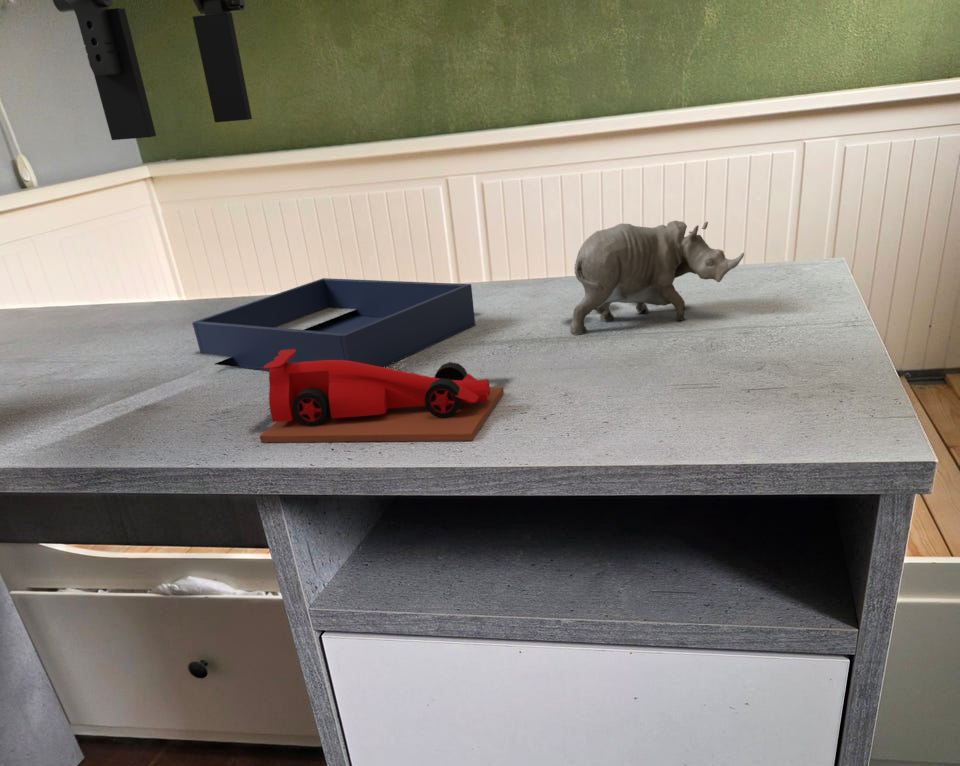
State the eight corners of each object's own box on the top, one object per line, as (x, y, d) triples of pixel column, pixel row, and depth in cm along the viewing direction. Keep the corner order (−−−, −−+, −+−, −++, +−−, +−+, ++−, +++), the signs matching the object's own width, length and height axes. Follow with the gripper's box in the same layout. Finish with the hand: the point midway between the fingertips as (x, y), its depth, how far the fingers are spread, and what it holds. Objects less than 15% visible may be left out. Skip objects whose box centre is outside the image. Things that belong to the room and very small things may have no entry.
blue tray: (202, 362, 95) (191, 322, 93) (330, 314, 108) (323, 278, 106) (353, 381, 83) (345, 335, 81) (475, 325, 97) (471, 283, 94)
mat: (260, 442, 72) (258, 435, 71) (313, 397, 80) (312, 391, 80) (472, 440, 67) (471, 433, 67) (503, 393, 76) (503, 386, 75)
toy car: (485, 416, 70) (479, 352, 67) (273, 429, 72) (258, 368, 70) (493, 391, 74) (487, 331, 72) (294, 405, 77) (281, 347, 74)
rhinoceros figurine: (537, 296, 94) (619, 159, 86) (640, 357, 98) (727, 233, 90) (543, 320, 88) (632, 175, 80) (653, 385, 92) (747, 254, 84)
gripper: (-9, -421, 38) (137, 143, 49) (248, -264, 58) (309, 111, 69) (-148, -384, 39) (24, 152, 51) (148, -244, 59) (223, 118, 71)
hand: (188, 129), depth 60 cm, fingers open, 13 cm apart
